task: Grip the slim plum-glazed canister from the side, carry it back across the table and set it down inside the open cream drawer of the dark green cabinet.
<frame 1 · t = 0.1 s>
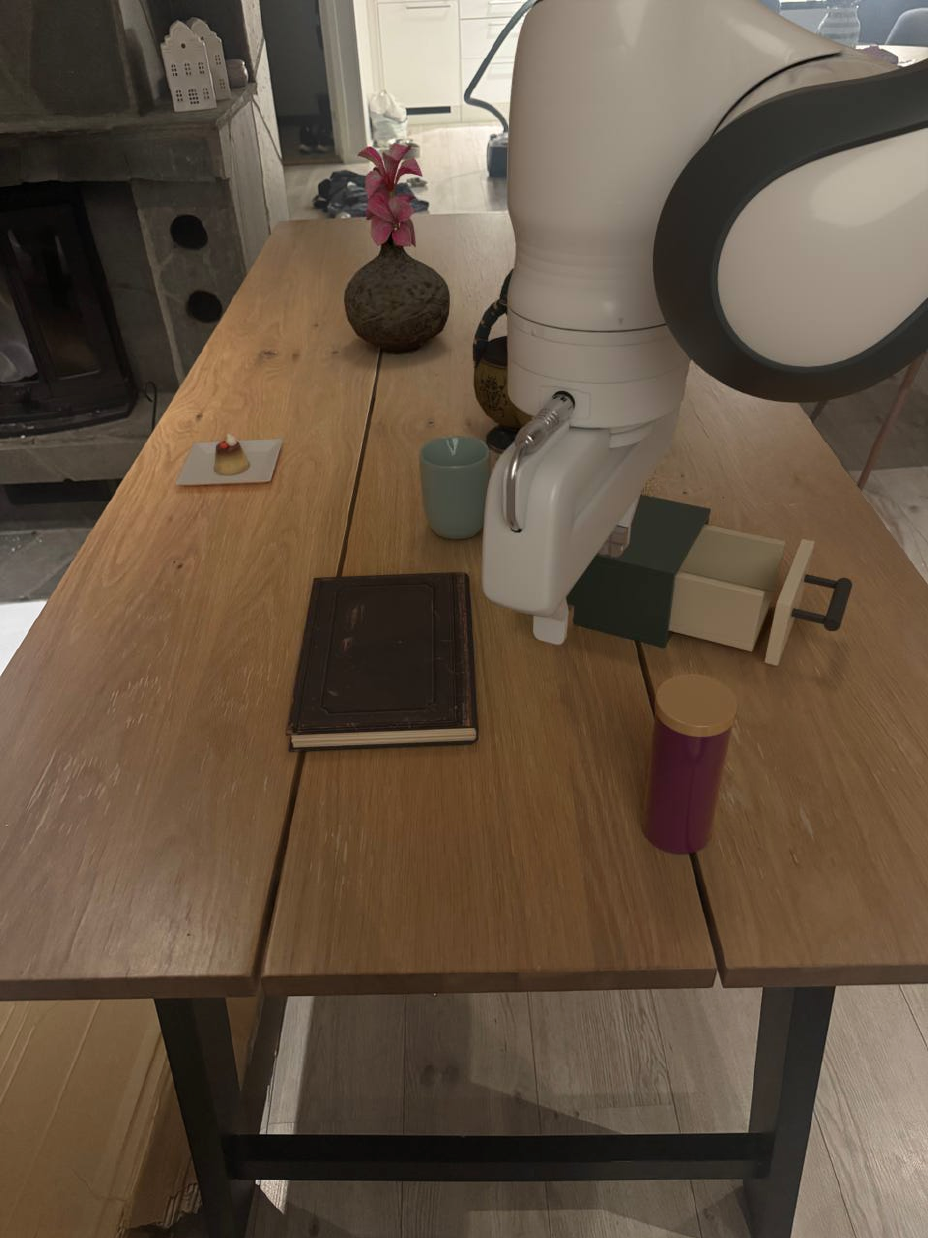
hand: (584, 590, 54), 24 cm above the table, tool pointing down, fingers open, 8 cm apart
dessert: (232, 469, 121), on the table
cabinet: (608, 594, 95), on the table
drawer: (740, 589, 88), point 4 cm above the table, slide at 9.0 cm
teapot: (523, 453, 121), on the table
canister: (676, 827, 70), on the table
hardcover book: (389, 664, 87), on the table
vase: (399, 346, 155), on the table
cup: (457, 531, 106), on the table
candlestick: (562, 308, 168), on the table
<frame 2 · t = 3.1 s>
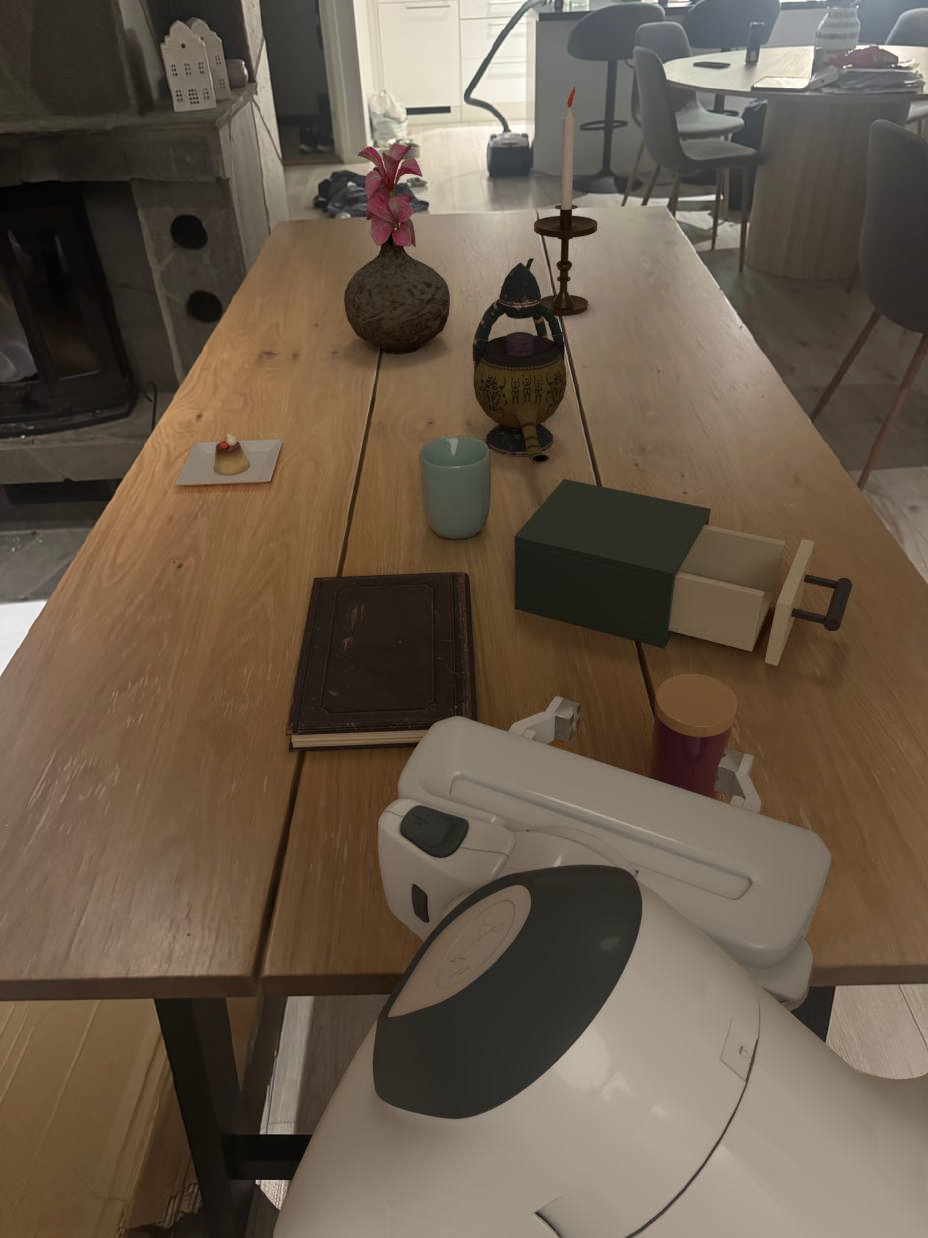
hand: (650, 733, 50), 20 cm above the table, tool horizontal, fingers open, 8 cm apart
nothing on the table moved.
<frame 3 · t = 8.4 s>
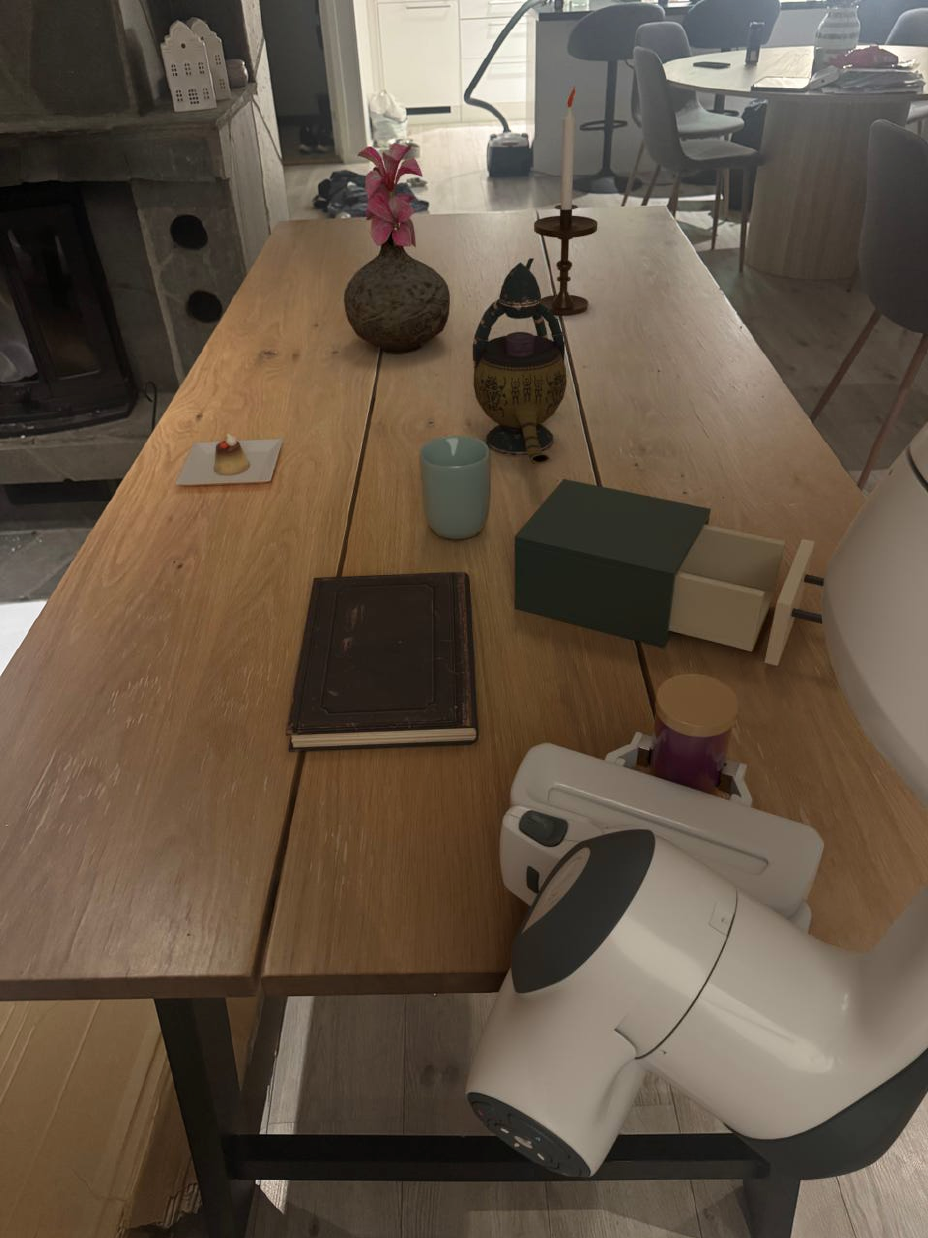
hand: (689, 753, 67), 7 cm above the table, tool horizontal, fingers closed on canister, 5 cm apart
canister: (676, 827, 70), on the table, touching gripper
everything else where it was.
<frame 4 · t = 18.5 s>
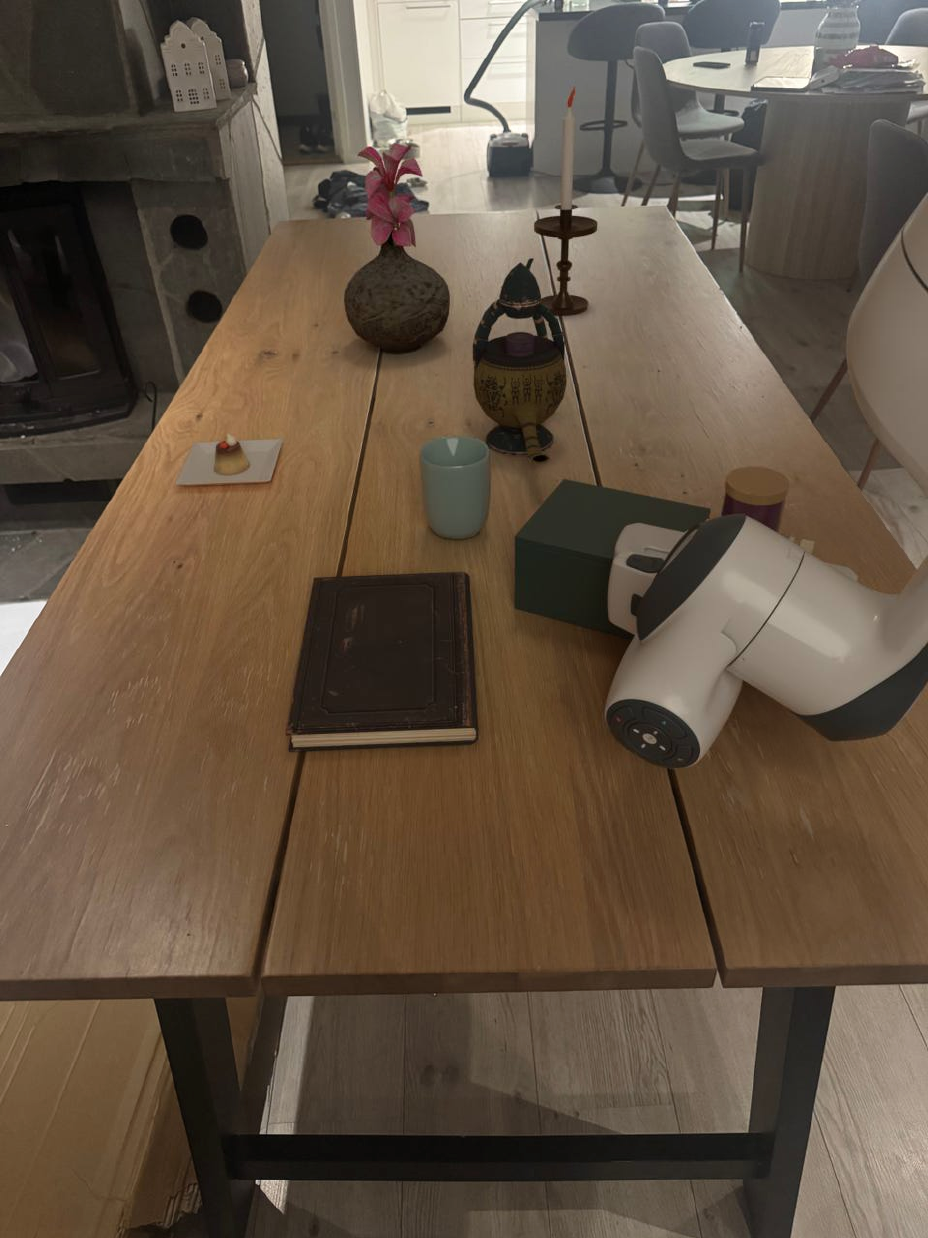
hand: (749, 534, 85), 10 cm above the table, tool horizontal, fingers closed on canister, 5 cm apart
canister: (736, 601, 89), point 3 cm above the table, touching gripper
everything else where it was.
when the fingers open (13 cm above the table, at t = 37.0 s): canister drops 3 cm, resting on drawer.
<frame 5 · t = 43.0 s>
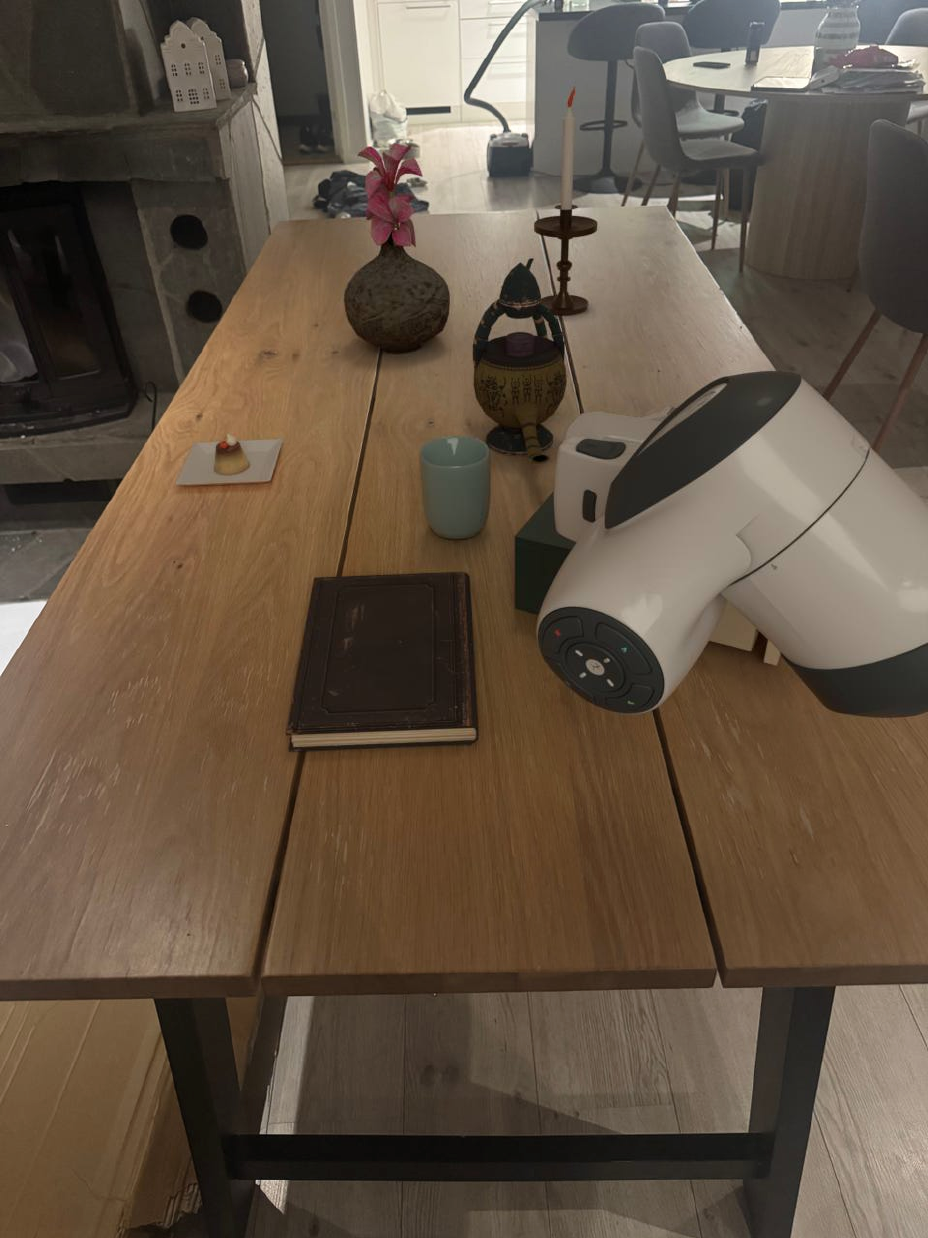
hand: (740, 427, 66), 26 cm above the table, tool horizontal, fingers open, 8 cm apart
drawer: (740, 589, 88), point 4 cm above the table, slide at 8.9 cm, touching canister
canister: (735, 608, 89), point 2 cm above the table, touching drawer
everything else where it was.
at the end: canister inside the target area in the cabinet (7.2 cm from its centre), point 2.0 cm above the cabinet's base; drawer slide at 8.9 cm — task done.
